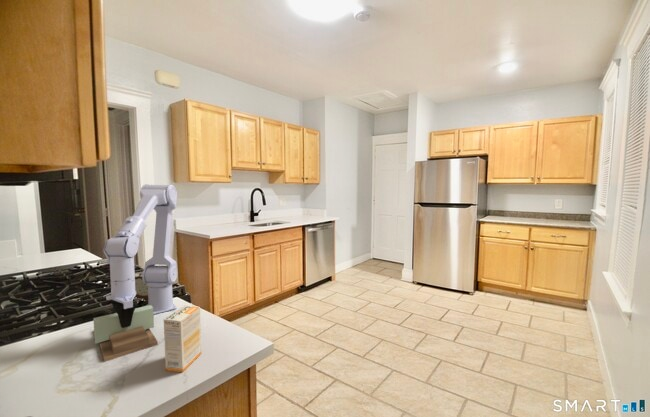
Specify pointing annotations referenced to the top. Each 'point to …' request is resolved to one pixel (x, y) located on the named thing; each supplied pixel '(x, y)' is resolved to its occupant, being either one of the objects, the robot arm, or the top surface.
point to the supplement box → (182, 338)
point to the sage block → (112, 325)
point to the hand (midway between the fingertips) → (124, 324)
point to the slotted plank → (109, 352)
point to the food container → (141, 287)
